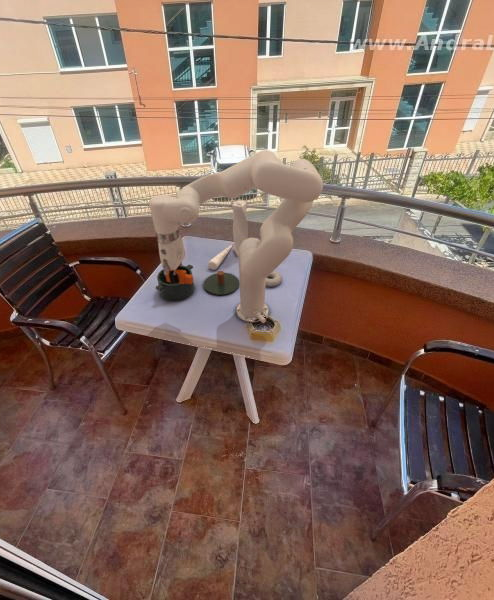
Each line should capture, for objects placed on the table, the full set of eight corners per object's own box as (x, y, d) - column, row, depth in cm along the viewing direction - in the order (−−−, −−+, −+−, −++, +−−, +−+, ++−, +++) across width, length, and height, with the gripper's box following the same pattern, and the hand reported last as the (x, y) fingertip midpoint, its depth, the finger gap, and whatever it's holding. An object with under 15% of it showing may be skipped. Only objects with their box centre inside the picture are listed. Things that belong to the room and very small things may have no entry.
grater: (234, 257, 157) (232, 203, 139) (231, 250, 163) (228, 196, 145) (250, 254, 159) (250, 200, 141) (245, 247, 164) (245, 194, 146)
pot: (205, 284, 142) (203, 269, 137) (172, 309, 131) (169, 293, 125) (181, 274, 149) (179, 258, 144) (149, 296, 138) (145, 280, 133)
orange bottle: (194, 279, 116) (192, 271, 113) (190, 285, 113) (189, 276, 111) (168, 276, 119) (166, 267, 116) (164, 281, 116) (162, 272, 114)
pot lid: (246, 282, 142) (245, 269, 138) (224, 300, 133) (223, 288, 129) (219, 270, 150) (218, 258, 146) (196, 287, 141) (195, 275, 137)
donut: (280, 289, 137) (282, 275, 144) (281, 283, 135) (283, 269, 142) (257, 287, 139) (260, 273, 146) (257, 281, 137) (260, 267, 144)
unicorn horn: (239, 247, 165) (238, 238, 162) (216, 271, 149) (215, 263, 146) (230, 245, 167) (230, 237, 164) (207, 269, 151) (207, 260, 148)
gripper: (167, 248, 97) (177, 294, 109) (188, 223, 109) (195, 267, 121) (145, 245, 99) (157, 291, 111) (168, 221, 111) (177, 265, 123)
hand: (177, 278), depth 116 cm, fingers closed on orange bottle, 3 cm apart
